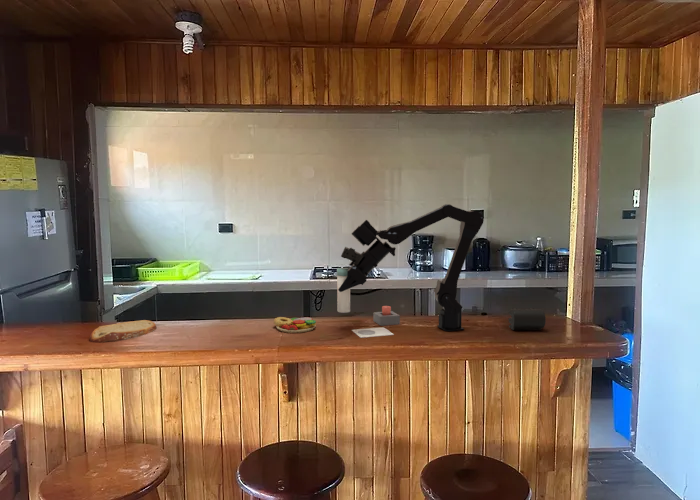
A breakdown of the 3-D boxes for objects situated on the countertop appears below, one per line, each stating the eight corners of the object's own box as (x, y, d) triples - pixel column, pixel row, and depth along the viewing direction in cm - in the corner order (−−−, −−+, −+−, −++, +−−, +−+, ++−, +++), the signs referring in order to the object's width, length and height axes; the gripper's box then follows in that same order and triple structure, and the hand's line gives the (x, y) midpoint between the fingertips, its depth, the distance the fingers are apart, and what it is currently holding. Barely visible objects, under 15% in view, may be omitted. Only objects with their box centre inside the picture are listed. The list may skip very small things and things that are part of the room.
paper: (383, 327, 163) (383, 326, 163) (393, 334, 155) (393, 333, 155) (351, 330, 160) (351, 329, 160) (360, 337, 152) (360, 336, 152)
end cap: (514, 332, 158) (514, 311, 157) (507, 326, 165) (507, 306, 164) (545, 332, 158) (546, 311, 157) (537, 326, 165) (537, 306, 164)
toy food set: (270, 326, 166) (270, 317, 166) (307, 322, 172) (307, 313, 172) (284, 336, 155) (284, 326, 154) (322, 331, 161) (322, 321, 160)
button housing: (392, 319, 175) (392, 311, 175) (399, 324, 168) (399, 315, 168) (373, 320, 173) (373, 312, 173) (380, 325, 166) (380, 316, 166)
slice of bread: (158, 326, 168) (157, 315, 168) (151, 340, 151) (150, 328, 150) (100, 329, 163) (99, 318, 163) (86, 344, 146) (85, 332, 146)
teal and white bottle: (348, 309, 165) (348, 267, 164) (352, 312, 161) (352, 269, 160) (335, 310, 164) (335, 268, 163) (339, 313, 160) (338, 269, 158)
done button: (388, 316, 172) (388, 305, 172) (392, 318, 169) (392, 307, 169) (380, 317, 171) (380, 306, 171) (383, 319, 168) (383, 307, 168)
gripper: (355, 236, 169) (323, 268, 171) (355, 240, 151) (319, 276, 152) (378, 259, 170) (346, 291, 171) (381, 266, 151) (345, 302, 153)
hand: (339, 289), depth 162 cm, fingers closed on teal and white bottle, 4 cm apart
